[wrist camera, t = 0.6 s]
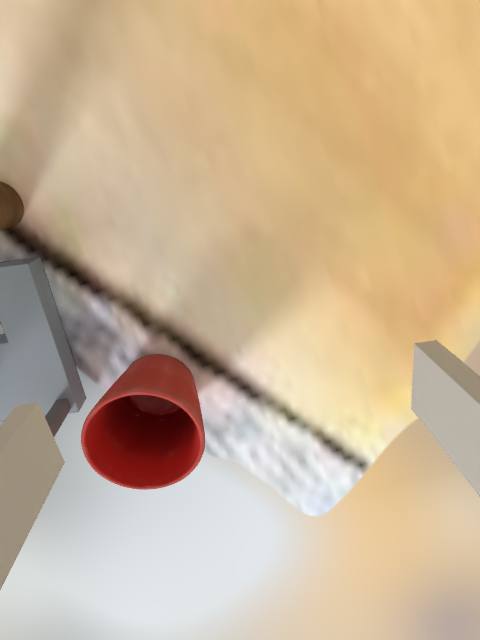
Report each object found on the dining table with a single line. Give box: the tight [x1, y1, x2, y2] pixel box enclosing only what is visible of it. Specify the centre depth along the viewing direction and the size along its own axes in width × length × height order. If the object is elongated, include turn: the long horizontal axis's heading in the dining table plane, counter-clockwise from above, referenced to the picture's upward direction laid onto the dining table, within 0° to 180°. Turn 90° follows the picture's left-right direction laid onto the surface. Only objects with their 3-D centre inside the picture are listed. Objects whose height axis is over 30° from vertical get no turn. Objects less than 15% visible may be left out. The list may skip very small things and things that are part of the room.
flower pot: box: [81, 354, 205, 489], centre depth 37 cm, size 11×11×10 cm
